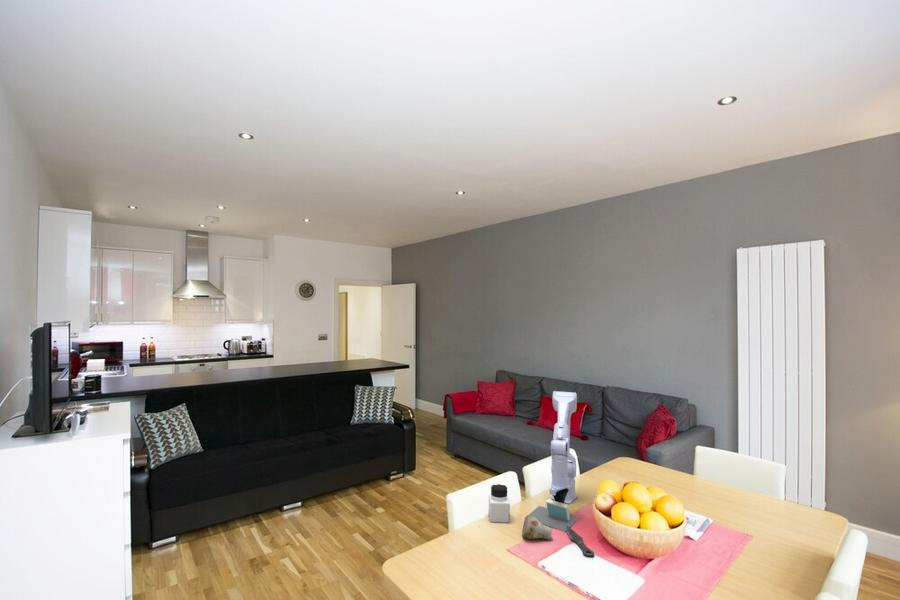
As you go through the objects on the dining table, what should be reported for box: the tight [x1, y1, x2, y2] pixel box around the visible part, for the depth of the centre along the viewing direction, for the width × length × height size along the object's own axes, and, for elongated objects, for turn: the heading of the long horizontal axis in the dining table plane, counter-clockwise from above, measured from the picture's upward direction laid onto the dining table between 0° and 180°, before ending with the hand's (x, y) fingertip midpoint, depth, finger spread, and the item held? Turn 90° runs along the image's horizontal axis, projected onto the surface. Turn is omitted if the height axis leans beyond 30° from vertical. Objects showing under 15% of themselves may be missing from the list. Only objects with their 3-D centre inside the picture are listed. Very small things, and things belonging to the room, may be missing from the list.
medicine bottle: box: [488, 483, 511, 524], centre depth 158 cm, size 7×7×12 cm
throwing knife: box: [565, 525, 595, 558], centre depth 142 cm, size 4×20×1 cm, turn 8°
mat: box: [524, 505, 579, 533], centre depth 158 cm, size 13×16×1 cm
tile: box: [545, 498, 571, 521], centre depth 158 cm, size 2×8×6 cm, turn 54°
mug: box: [521, 514, 553, 540], centre depth 144 cm, size 8×10×10 cm
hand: (559, 508), depth 159 cm, fingers closed
